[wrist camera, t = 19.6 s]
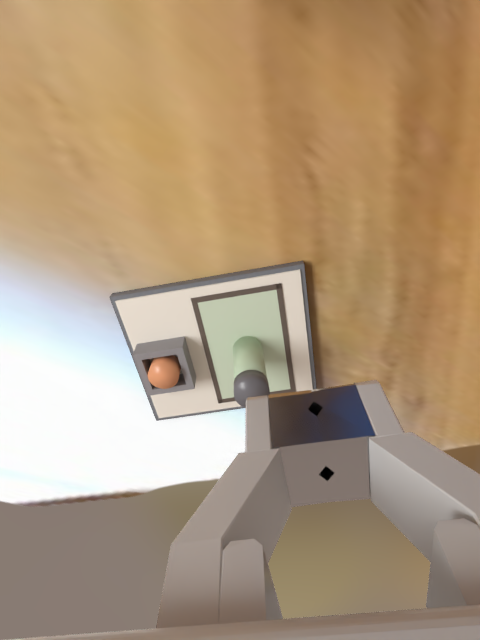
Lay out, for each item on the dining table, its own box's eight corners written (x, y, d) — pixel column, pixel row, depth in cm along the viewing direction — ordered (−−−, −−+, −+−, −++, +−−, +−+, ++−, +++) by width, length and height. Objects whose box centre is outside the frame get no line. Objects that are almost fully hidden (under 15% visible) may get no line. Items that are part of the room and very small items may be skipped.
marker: (261, 334, 42) (268, 377, 35) (264, 359, 44) (271, 405, 37) (230, 337, 42) (231, 382, 35) (234, 362, 44) (236, 409, 37)
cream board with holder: (302, 260, 39) (308, 272, 36) (315, 392, 48) (321, 410, 45) (112, 293, 41) (102, 307, 38) (157, 415, 49) (152, 435, 46)
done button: (176, 350, 42) (174, 361, 40) (184, 374, 44) (182, 386, 42) (147, 355, 42) (143, 366, 40) (156, 378, 44) (152, 390, 42)
